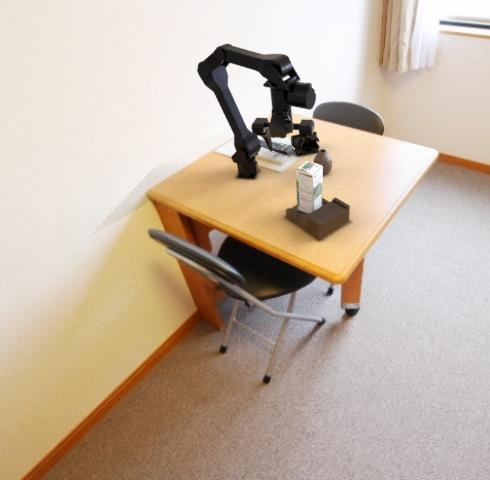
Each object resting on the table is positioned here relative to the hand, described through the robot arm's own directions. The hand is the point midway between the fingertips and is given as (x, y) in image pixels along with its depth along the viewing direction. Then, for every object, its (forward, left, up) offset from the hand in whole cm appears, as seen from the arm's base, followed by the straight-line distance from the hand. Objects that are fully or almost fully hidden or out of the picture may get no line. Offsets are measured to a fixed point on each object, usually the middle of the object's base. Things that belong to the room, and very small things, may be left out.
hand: (285, 151), depth 113 cm
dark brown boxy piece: (+13, -17, -13) cm, 25 cm away
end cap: (+2, +26, -13) cm, 29 cm away
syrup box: (+10, -15, -11) cm, 21 cm away
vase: (+11, +10, -13) cm, 20 cm away
